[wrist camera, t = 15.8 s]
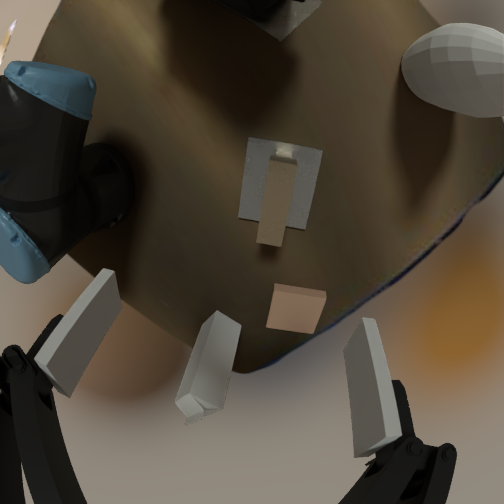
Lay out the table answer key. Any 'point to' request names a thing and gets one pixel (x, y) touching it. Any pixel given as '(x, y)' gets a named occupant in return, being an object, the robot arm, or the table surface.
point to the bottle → (458, 69)
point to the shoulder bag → (273, 13)
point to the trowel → (278, 186)
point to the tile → (295, 308)
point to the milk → (209, 368)
